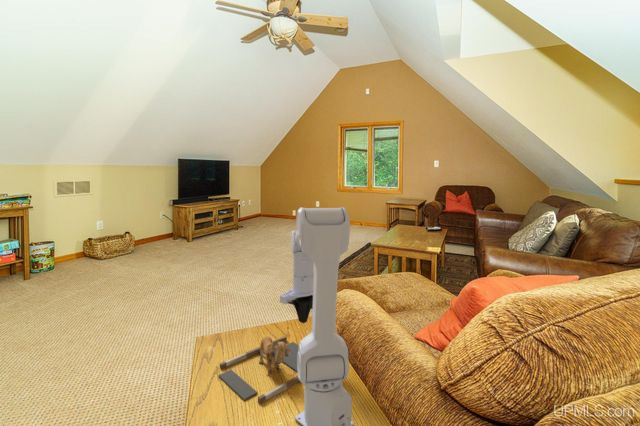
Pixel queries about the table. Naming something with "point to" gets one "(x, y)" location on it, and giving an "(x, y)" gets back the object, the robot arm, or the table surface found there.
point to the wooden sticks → (273, 391)
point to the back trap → (292, 356)
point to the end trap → (237, 384)
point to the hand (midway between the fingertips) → (302, 321)
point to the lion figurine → (273, 353)
